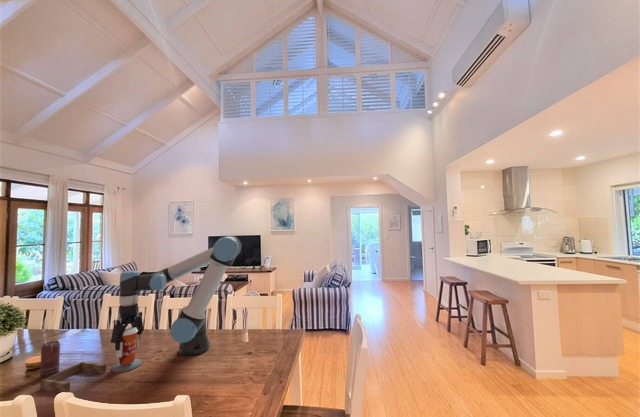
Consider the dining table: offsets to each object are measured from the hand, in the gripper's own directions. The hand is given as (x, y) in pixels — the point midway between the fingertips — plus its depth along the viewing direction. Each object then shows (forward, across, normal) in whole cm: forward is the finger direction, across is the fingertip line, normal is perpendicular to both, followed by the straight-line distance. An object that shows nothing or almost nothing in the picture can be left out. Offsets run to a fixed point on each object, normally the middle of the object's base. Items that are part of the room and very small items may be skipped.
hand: (127, 352), depth 135 cm
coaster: (+6, 0, 0) cm, 6 cm away
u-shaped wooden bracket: (+6, +15, -11) cm, 20 cm away
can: (+6, +14, -27) cm, 31 cm away
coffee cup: (+5, 0, 0) cm, 5 cm away
